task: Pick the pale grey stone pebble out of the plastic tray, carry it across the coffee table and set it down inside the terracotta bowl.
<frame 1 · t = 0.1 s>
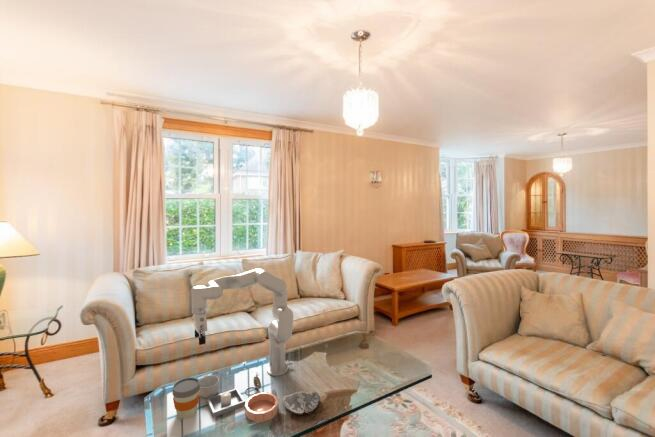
hand: (200, 340, 171), 31 cm above the table, tool pointing down, fingers open, 9 cm apart
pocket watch: (253, 392, 177), on the table
teacup: (208, 393, 176), on the table
bowl: (261, 410, 162), on the table
reusable coffee cup: (187, 413, 160), on the table
brain slice: (302, 407, 166), on the table
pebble: (225, 404, 166), point 1 cm above the table, touching tray
tray: (225, 405, 166), on the table
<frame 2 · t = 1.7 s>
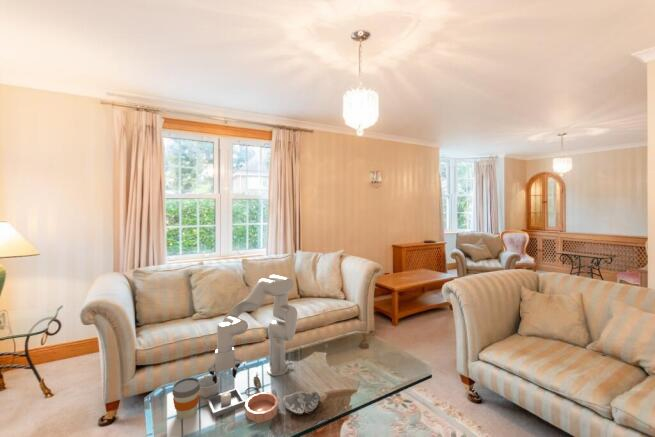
hand: (224, 379, 164), 14 cm above the table, tool pointing down, fingers open, 9 cm apart
nothing on the table moved.
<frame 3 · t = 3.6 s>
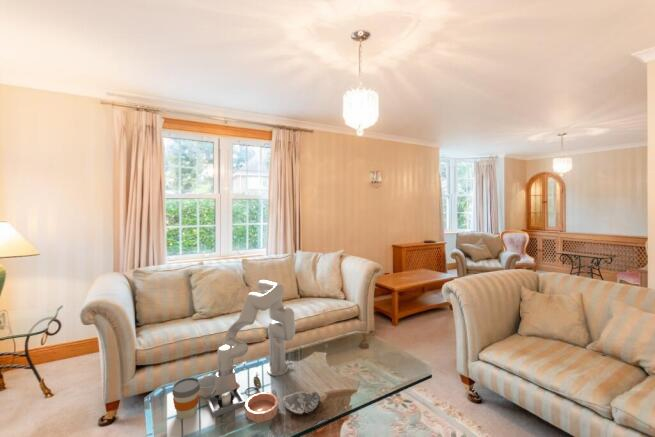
hand: (225, 403, 166), 1 cm above the table, tool pointing down, fingers closed on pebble, 4 cm apart
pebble: (225, 404, 166), point 1 cm above the table, touching gripper, tray
everything else where it was.
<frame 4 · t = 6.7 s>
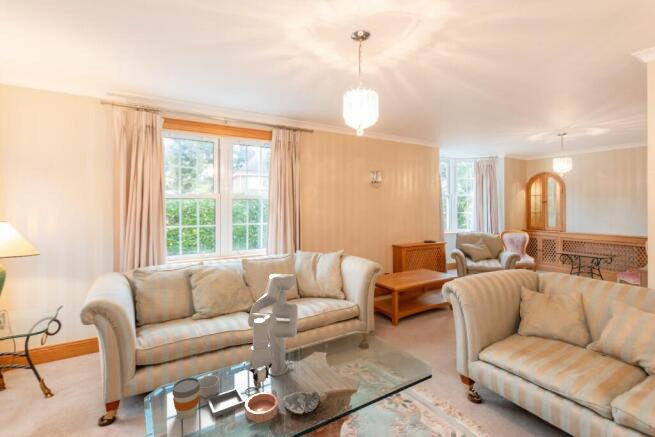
hand: (260, 378, 161), 17 cm above the table, tool pointing down, fingers closed on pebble, 4 cm apart
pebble: (260, 379, 161), point 17 cm above the table, touching gripper
everything else where it was.
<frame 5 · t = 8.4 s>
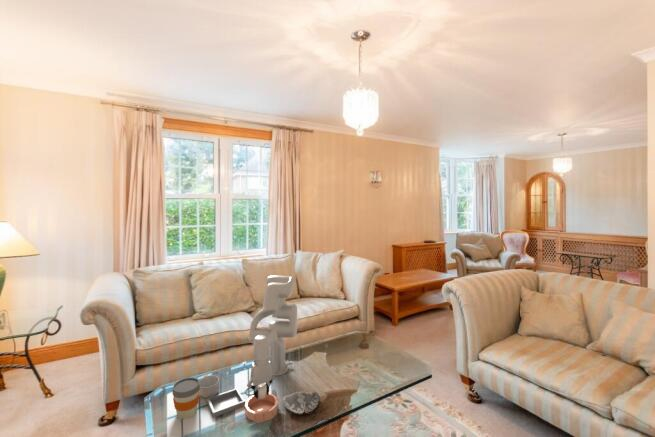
hand: (261, 394, 161), 9 cm above the table, tool pointing down, fingers closed on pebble, 4 cm apart
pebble: (261, 395, 161), point 8 cm above the table, touching gripper
everything else where it was.
when the fingers open (3 cm above the table, at t = 9.9 s): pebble drops 2 cm, resting on bowl.
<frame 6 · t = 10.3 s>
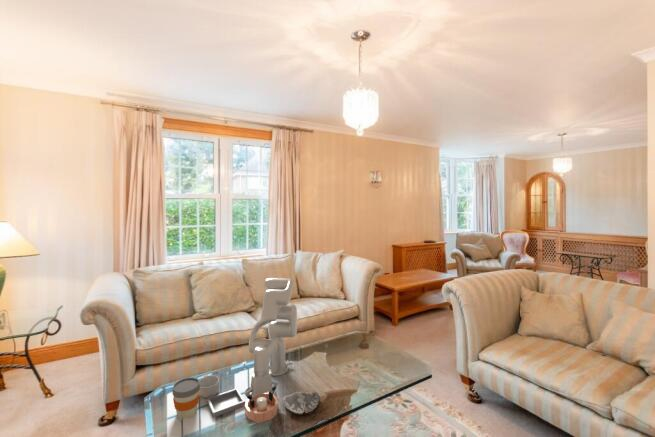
hand: (261, 403, 162), 4 cm above the table, tool pointing down, fingers open, 9 cm apart
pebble: (261, 409, 162), point 1 cm above the table, touching bowl
everything else where it was.
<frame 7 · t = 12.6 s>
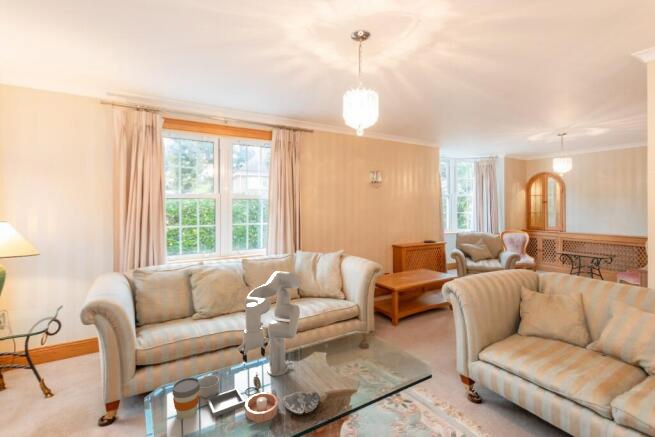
hand: (254, 358, 167), 24 cm above the table, tool pointing down, fingers open, 9 cm apart
nothing on the table moved.
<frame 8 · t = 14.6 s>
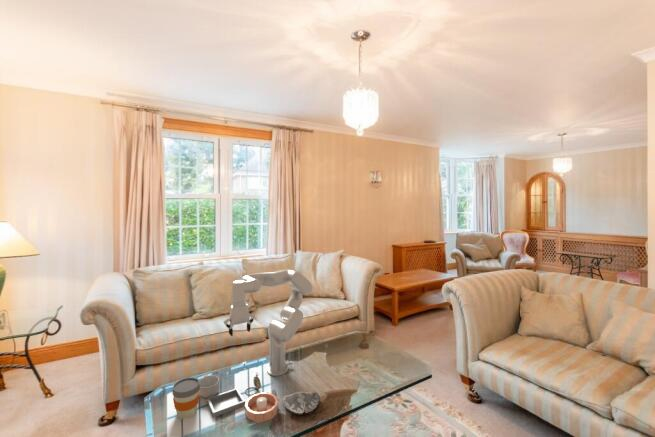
hand: (239, 332, 177), 32 cm above the table, tool pointing down, fingers open, 9 cm apart
nothing on the table moved.
at the end: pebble inside the target area on the bowl (0.0 cm from its centre), point 0.8 cm above the bowl's base; the gripper is holding nothing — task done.
